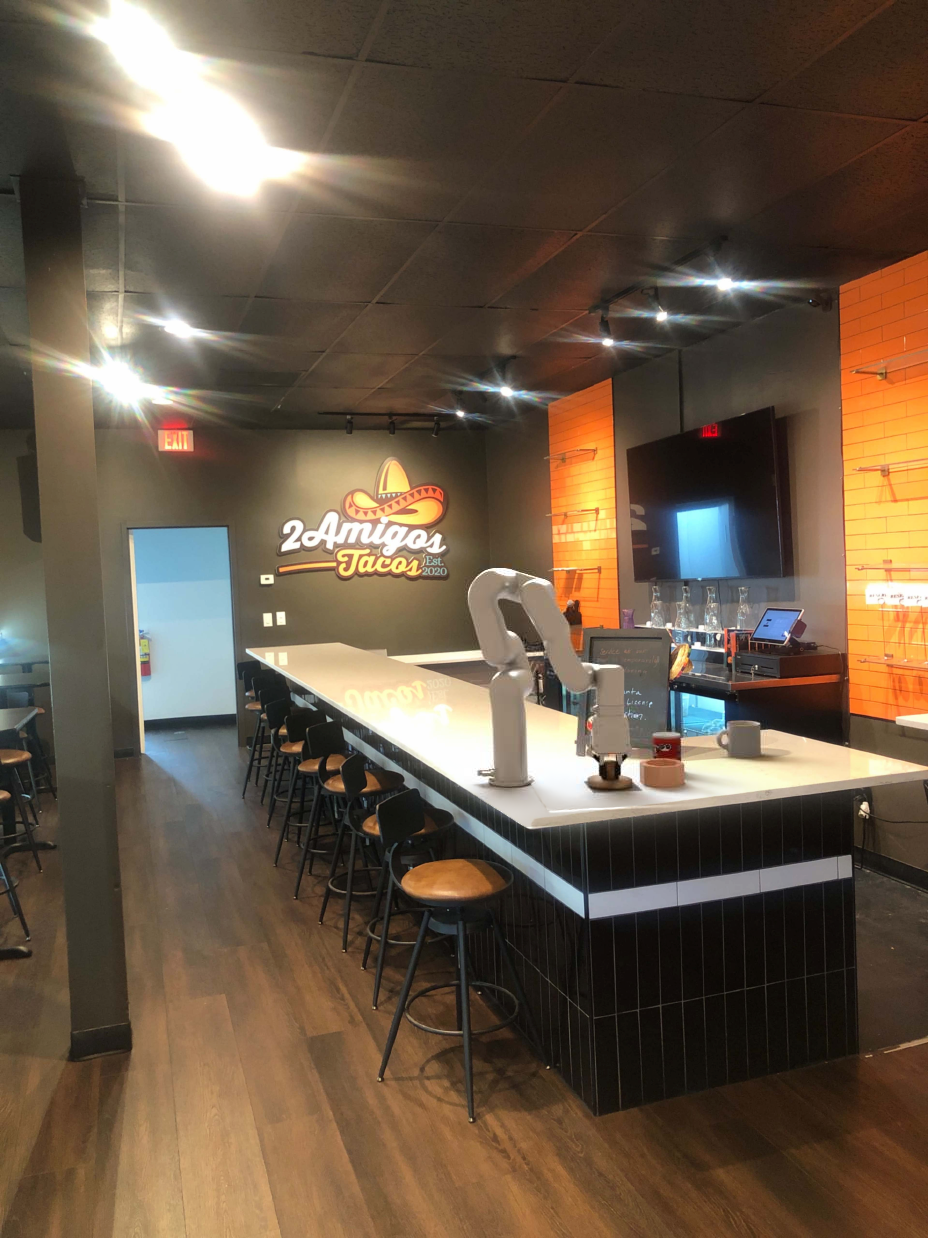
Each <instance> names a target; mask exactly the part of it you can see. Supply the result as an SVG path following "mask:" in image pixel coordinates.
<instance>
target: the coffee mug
mask: <svg viewBox="0 0 928 1238" xmlns="http://www.w3.org/2000/svg"><path fill="white" fill-rule="evenodd" d="M761 733H762V732H761V723H760V722H758V721H753V720H731V721H728V722H727V723H726V728H725V729H721V730H719V731H718V732H717V734H716V743H717V745H718V747H719V748H721V749H723V750H725V751H726V753H727V756H728V757H731V758H735V759H757V758H760V757H762V755H761V754H762V752H761V751H762V750H761V749H762V746H761V745H762V744H761V743H762V741H761ZM724 735H726V743H723V741H722V738H723V736H724Z"/></svg>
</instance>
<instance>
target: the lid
mask: <svg viewBox="0 0 928 1238" xmlns="http://www.w3.org/2000/svg"><path fill="white" fill-rule="evenodd" d="M604 763H605V765H606V779H605V780H603V779H602V778H601V776H599V774H595V775H590V776H588V777H587V780H586V781H587V784H588V785H590V786H592V787H595V788H601V789H624V788H628V787H631V786H632V782H633V778H631V777H629V776H627V775H621V776H619V779H616V778H615V765H616V759H615V760H614V759H604Z"/></svg>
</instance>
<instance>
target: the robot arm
mask: <svg viewBox="0 0 928 1238" xmlns="http://www.w3.org/2000/svg"><path fill="white" fill-rule="evenodd" d="M467 594H468V595H467V605H468V608H469V612H470V615H471V616H470V617H471V618H472V623H473V626H474V630H475V633H476V637H477V641H478V645H479V647H480V648H479V649H480V651H481V654H482V657H483V660H484V661H485V662H486V663H487V664H488V666H489V665H490V666H492V667H497V670H498V672H497V673H496V674H495V675H494V676H493V677H492V679H491V681H490V684H489V688H488V695H489V702H490V708H491V723H492V724H491V725H492V750H493V751H492V752H493V756H492V757H493V764H491V767H488V768H485V769H484V768H477V770H476V771H477V774H476V775H477V777H482V778H483V777H485V778H486V777H488V783H489V785H492V786H496V787H503V788H505V787H506V788H509V787H510V788H513V787H514V788H515V787H523V786H524V787H525V786H528V785H530V784H531V783H532V782H533V781H534V777H533V775H530V774H529V771H528V767H529V766H528V738H527V737H528V735H527V734H528V732H527V712H526V707H525V701H524V700H525V698H527V697H528V696H530V694H531V693H532V692H533V689H534V683H535V682H534V681H535V680H534V675H533V673H532V672H533V671H532V669H531V665H530V662H529V658H528V655H527V652H526V649H525V645H524V643H523V642H522V640H521V638H520V636H519V635H517V633H516V632H512V631H510V630H508V629H507V626H506V623H505V619H504V615H503V612H502V610H501V609H500V606H499V604H498V603H499V602H498V601H499V600H501V599H506V600H509V601H513V602H516V603H520V604H521V606H522V609H523V610H524V611H525V613H526V615H527V616H528V617H529V619H530V621H531V623H532V625H533V626H534V628H535V631H536V632H537V633H538V635H539V637H540V638H541V640H542V643H543V647H544V650H545V652H546V655H547V658H548V660H549V663H550V665H551V667H552V669H553V670H554V671H553V672H555V674H556V676H557V677H558V680H559V681H560V683H561V684H562V686H563V687H564V688H565V689H566V690H567V691H568V692H570V693H572V694H576V695H578V694H582V693H585V692H587V691H589V690H595V704H594V706H590V708H589V710H590V713H595V714H594V715H593V717H592V721H591V728H590V729H591V730H590V738H589V739H590V743H589V745H588V746H587V749H586V750H585V755H586V756H588V757H590V758H592V759H593V760H595V761H596V762H597V763H598V775H599V776H601V778H602V779H603V780H605V779H606V765H605V763H604V761H605V757H606V755H615V761H616V765H615V778H616V779H619V776H621V774H622V764H623V763H624V762H625V760H626V759H628V758H629V757H631V756H633V755H634V754H635V751H634V748H633V747H632V745H631V736H630V734H631V732H630V727H629V726H630V724H629V720H628V716H627V715H626V714H625V669H624V668H623V666H622V665H619V664H596V663H590V662H582V661H581V660H580V658H579V657H578V655H577V653H576V651H575V649H574V646H573V643H572V640H571V626H570V623H569V621H568V620H567V618H566V617H565V615H564V613H563V611H562V610H561V608H560V606H559V605H558V602H557V601H556V599H557V591H556V588H555V587H554V585H553V583H551V582H550V581H548V580H546V579H543V578H539V577H536V576H533V575H529V574H526V573H523V572H520V571H516V570H513V569H509V568H490V569H486V570H484V571H483V572H481V573H479V574H478V576H476V577H475V579H474V580H473V581H472V583H471V584H470V586H469V589H468V593H467Z"/></svg>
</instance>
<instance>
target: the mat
mask: <svg viewBox="0 0 928 1238" xmlns="http://www.w3.org/2000/svg"><path fill="white" fill-rule="evenodd" d="M583 783H584V784H585V785H586V786H587V787H588V788H589V789H590V790H591V792H592V793H594V794H595V793H598V794H600V793H601V794H602V793H617V792H620V793H621V792H623V793H624V792H639V791H640V792H642V791H643V789H642V788H640V787H639V785H638V784H636V782H634V781H632V786H631V787H628V788H624V789H601V788H595V787H592V786H590V785H588V784H587V780H584V781H583Z"/></svg>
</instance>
